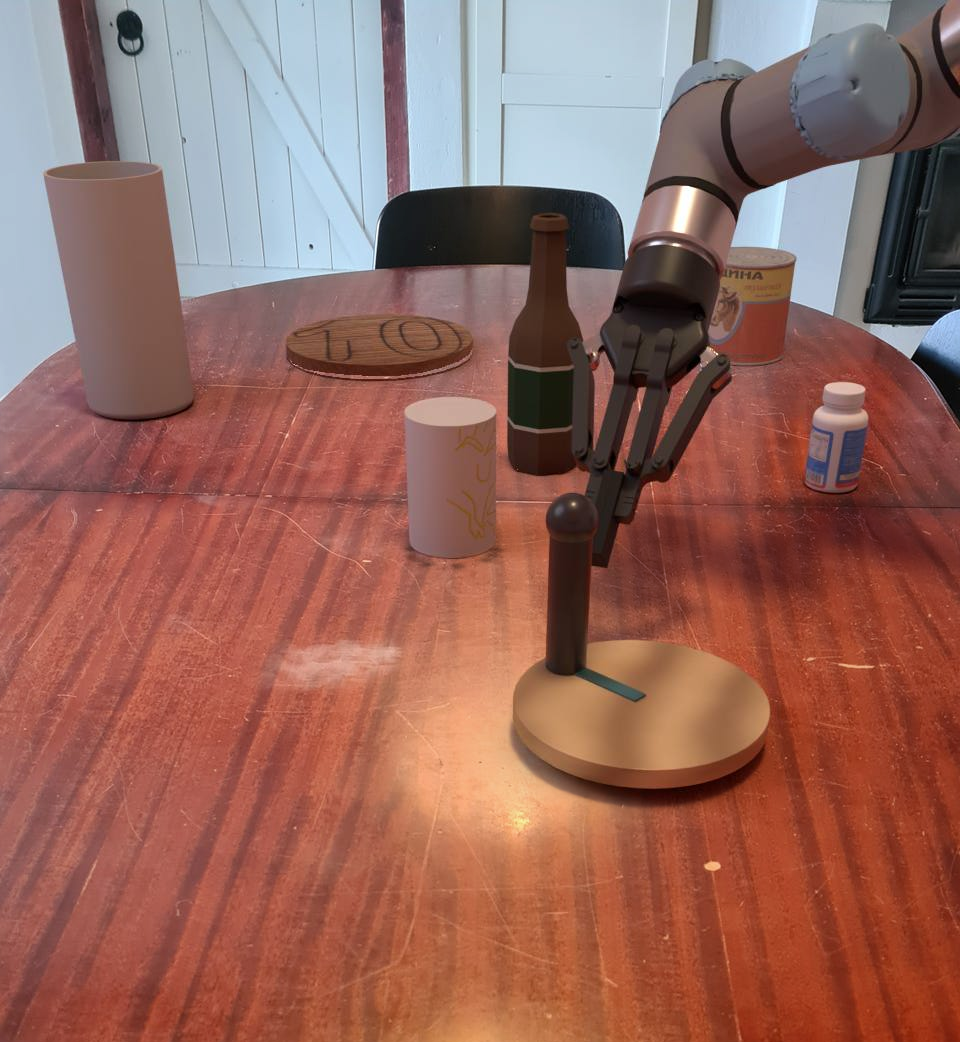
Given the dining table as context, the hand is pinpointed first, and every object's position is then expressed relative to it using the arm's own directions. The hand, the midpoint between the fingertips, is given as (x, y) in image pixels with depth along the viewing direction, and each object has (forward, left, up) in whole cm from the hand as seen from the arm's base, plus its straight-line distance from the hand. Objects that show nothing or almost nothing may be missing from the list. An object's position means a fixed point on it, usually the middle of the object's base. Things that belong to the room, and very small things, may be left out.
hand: (594, 559), depth 92 cm
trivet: (+43, -78, -9) cm, 89 cm away
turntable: (-5, +10, -7) cm, 13 cm away
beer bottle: (+13, -42, -9) cm, 45 cm away
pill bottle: (-17, -43, -9) cm, 47 cm away
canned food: (-4, -89, -9) cm, 90 cm away
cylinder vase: (+64, -50, -9) cm, 81 cm away
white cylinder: (+17, -20, -9) cm, 27 cm away
